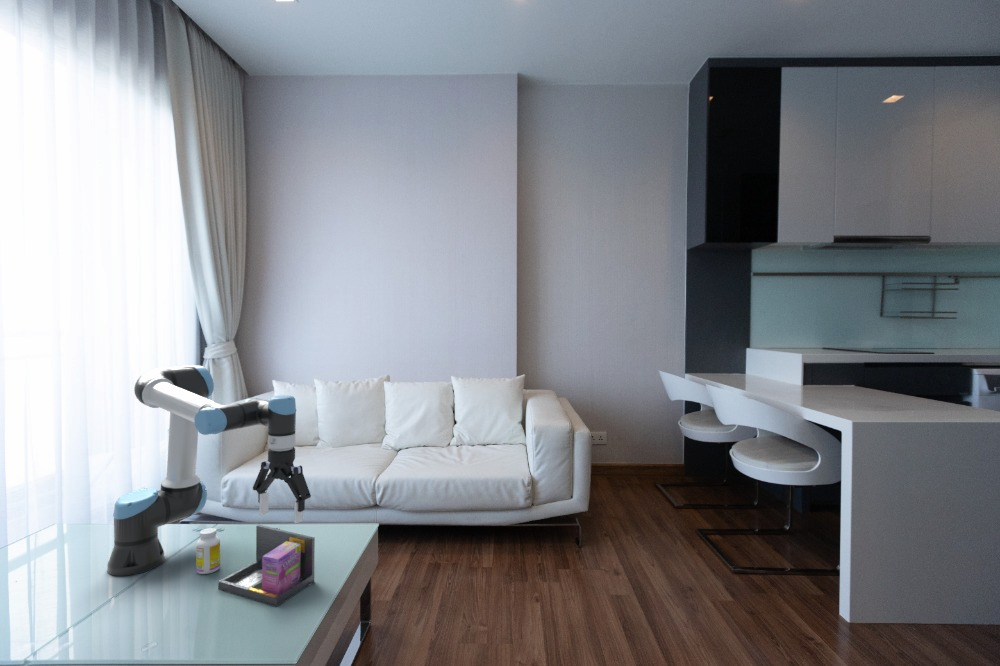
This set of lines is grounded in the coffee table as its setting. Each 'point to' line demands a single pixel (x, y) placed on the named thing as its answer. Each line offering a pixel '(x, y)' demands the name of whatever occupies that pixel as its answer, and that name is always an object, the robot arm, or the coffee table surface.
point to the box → (281, 568)
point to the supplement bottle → (208, 552)
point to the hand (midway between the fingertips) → (280, 517)
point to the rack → (250, 576)
